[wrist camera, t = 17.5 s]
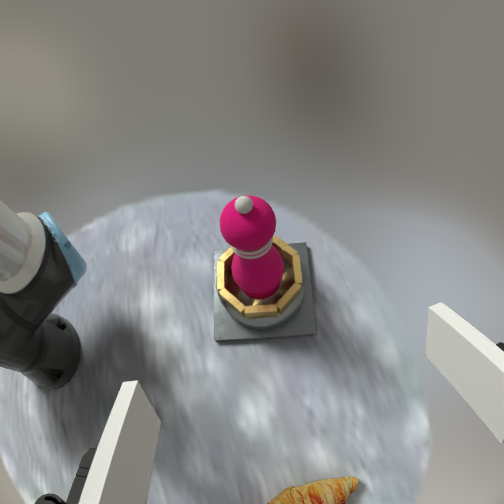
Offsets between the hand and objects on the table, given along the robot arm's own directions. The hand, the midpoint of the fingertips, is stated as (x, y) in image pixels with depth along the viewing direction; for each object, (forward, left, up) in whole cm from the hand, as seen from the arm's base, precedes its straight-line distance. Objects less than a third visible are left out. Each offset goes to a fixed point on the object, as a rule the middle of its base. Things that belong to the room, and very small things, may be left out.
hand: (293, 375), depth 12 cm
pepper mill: (-3, +17, -31) cm, 35 cm away
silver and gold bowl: (-3, +17, -36) cm, 40 cm away
